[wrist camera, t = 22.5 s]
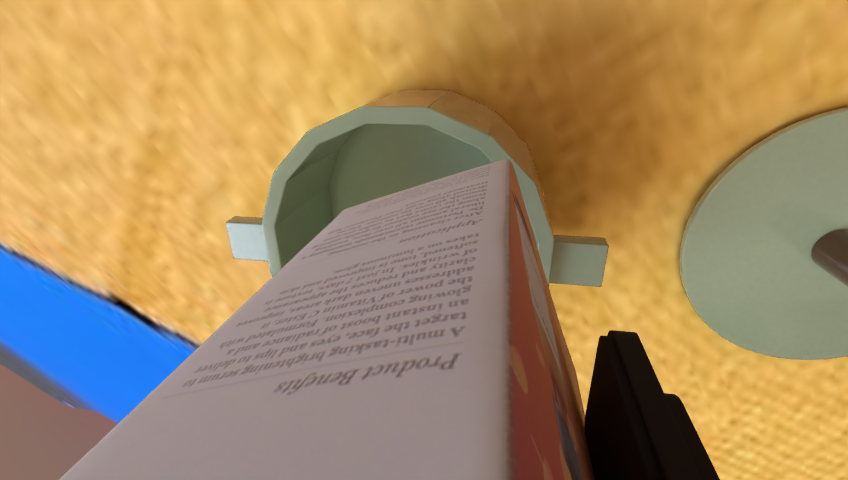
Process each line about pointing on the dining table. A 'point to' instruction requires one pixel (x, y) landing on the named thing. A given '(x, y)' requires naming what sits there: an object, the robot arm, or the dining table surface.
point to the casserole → (401, 177)
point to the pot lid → (776, 244)
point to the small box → (378, 358)
